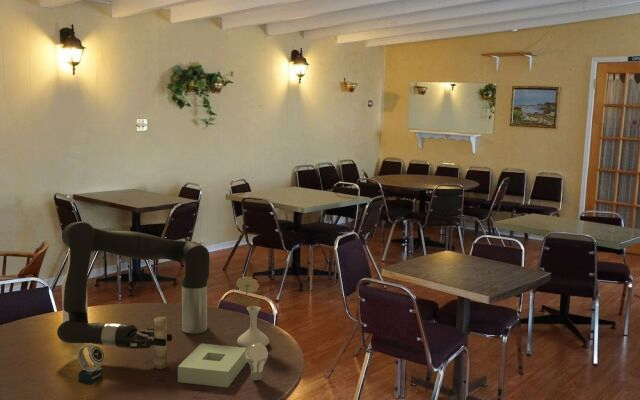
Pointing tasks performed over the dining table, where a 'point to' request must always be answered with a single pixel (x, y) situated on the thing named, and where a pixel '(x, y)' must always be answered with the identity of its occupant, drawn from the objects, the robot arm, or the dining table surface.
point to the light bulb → (256, 359)
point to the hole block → (212, 365)
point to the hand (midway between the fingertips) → (168, 340)
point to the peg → (160, 351)
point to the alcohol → (65, 314)
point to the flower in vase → (252, 333)
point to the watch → (90, 373)
